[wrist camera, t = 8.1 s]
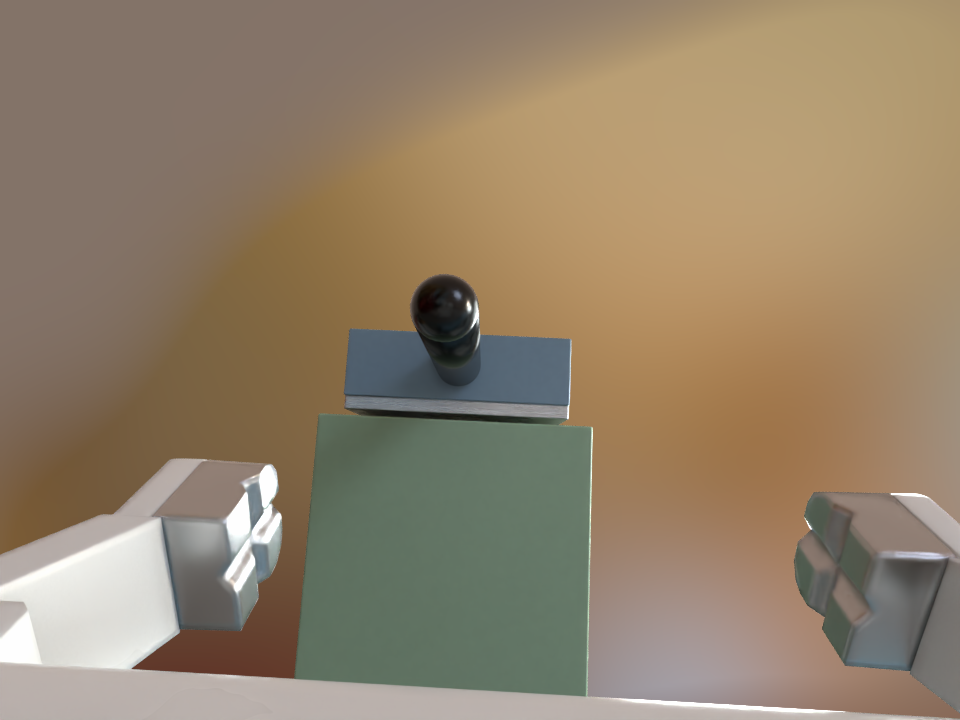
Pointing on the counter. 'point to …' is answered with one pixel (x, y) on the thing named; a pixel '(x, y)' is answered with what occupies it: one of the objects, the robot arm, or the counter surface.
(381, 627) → the sage green block
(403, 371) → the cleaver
